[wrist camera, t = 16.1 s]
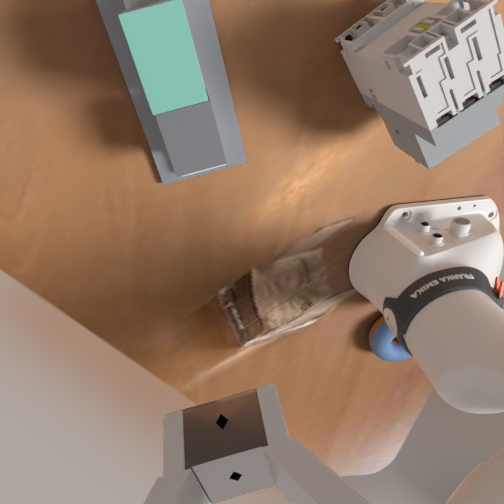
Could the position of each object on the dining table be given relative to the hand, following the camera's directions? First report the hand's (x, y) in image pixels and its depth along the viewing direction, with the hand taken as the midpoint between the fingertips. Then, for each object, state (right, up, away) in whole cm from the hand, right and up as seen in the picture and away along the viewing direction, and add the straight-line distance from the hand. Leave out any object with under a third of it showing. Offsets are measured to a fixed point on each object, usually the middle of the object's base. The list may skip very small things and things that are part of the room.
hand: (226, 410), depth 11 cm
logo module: (-7, +24, +28) cm, 37 cm away
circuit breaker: (+16, +24, +35) cm, 46 cm away
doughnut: (+24, -8, +58) cm, 64 cm away
